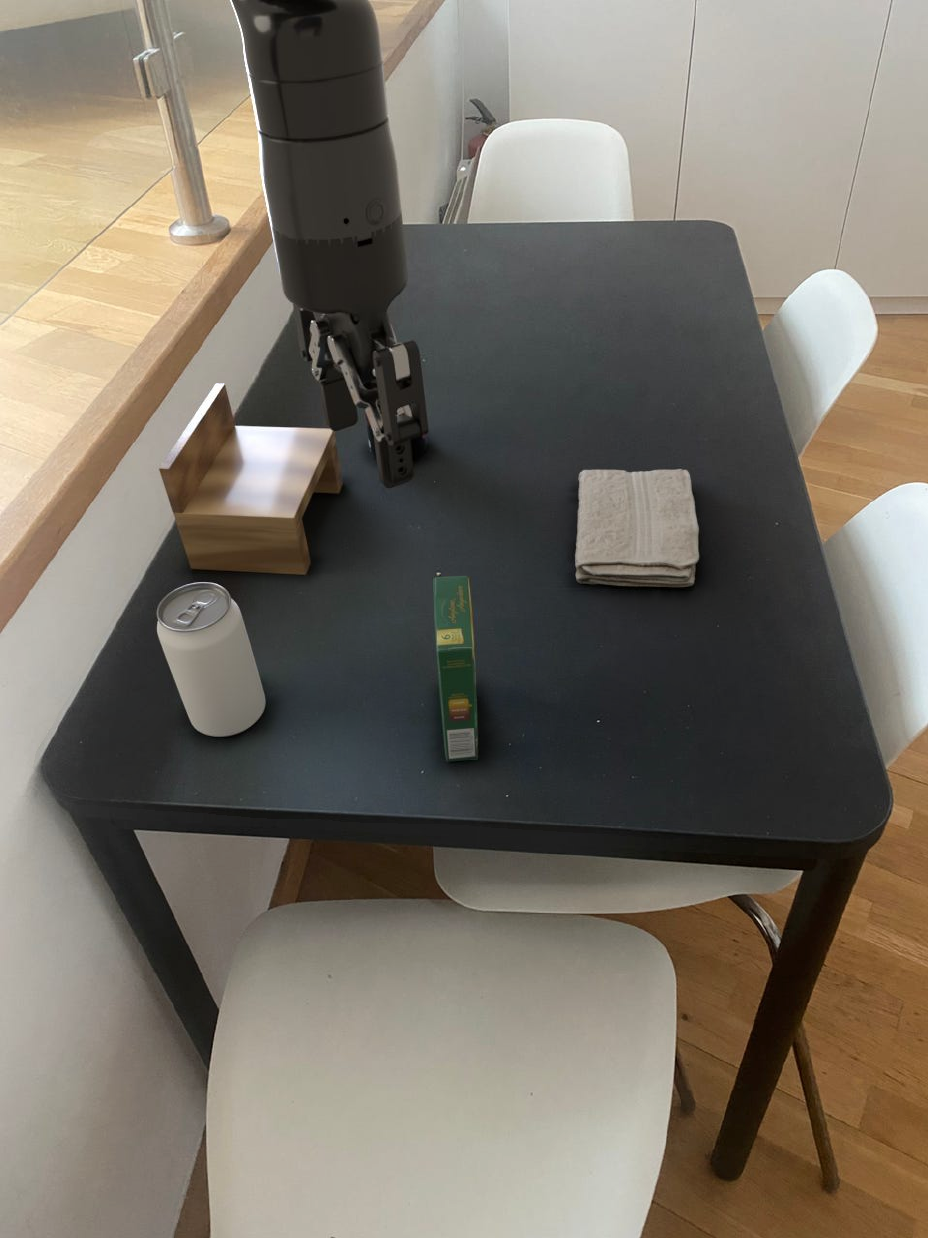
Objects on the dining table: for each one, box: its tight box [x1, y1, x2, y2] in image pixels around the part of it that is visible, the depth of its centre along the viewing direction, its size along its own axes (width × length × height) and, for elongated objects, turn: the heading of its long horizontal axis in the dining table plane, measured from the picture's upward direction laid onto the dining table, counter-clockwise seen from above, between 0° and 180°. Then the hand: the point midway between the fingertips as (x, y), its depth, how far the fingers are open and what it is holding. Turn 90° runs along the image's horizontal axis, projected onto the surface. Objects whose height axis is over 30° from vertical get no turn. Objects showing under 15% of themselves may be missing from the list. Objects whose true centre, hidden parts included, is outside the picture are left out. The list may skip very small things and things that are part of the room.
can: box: [156, 581, 266, 738], centre depth 74 cm, size 6×6×12 cm
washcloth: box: [574, 468, 700, 588], centre depth 92 cm, size 12×18×3 cm, turn 175°
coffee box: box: [432, 575, 479, 763], centre depth 71 cm, size 8×3×13 cm, turn 2°
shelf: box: [158, 383, 344, 576], centre depth 94 cm, size 16×12×12 cm
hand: (369, 453), depth 63 cm, fingers open, 8 cm apart
